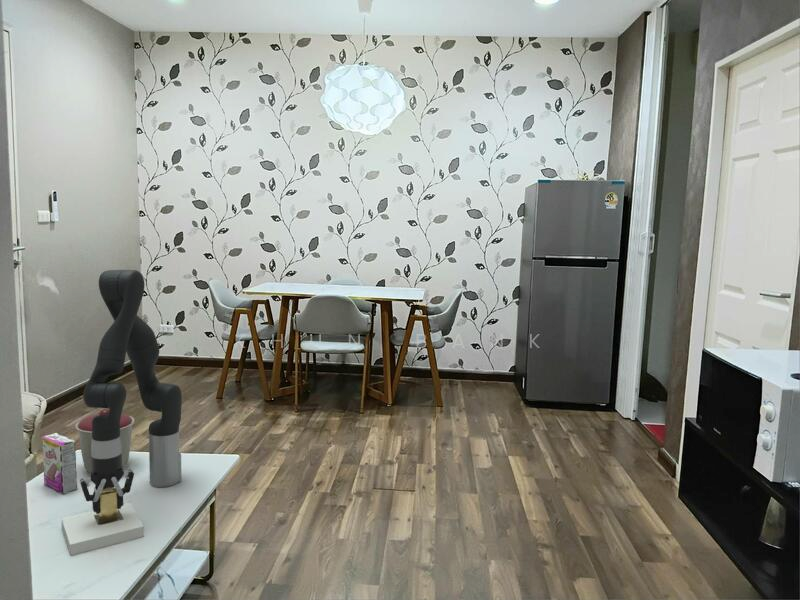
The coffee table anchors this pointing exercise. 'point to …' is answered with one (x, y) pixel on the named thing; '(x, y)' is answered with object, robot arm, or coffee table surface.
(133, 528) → the jig
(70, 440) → the candy bar box
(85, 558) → the coffee table surface
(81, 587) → the coffee table surface
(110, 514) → the gold metal peg
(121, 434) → the canister
